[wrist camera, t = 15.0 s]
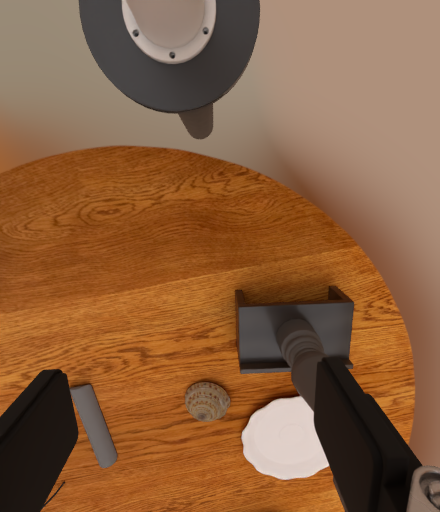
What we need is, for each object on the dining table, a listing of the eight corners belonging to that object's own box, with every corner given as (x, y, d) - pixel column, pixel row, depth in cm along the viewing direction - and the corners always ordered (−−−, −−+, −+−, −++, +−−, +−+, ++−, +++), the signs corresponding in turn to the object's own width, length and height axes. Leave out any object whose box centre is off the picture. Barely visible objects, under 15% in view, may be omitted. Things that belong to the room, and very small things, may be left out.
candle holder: (272, 351, 46) (337, 541, 22) (279, 316, 44) (358, 481, 20) (310, 355, 46) (414, 547, 22) (318, 321, 45) (440, 487, 21)
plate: (225, 455, 60) (226, 462, 59) (267, 377, 56) (269, 383, 54) (312, 482, 63) (314, 490, 61) (359, 410, 58) (363, 416, 56)
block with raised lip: (235, 290, 51) (239, 311, 42) (335, 285, 51) (359, 306, 43) (236, 344, 53) (240, 374, 45) (331, 340, 54) (352, 369, 45)
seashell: (233, 421, 55) (195, 438, 52) (221, 401, 60) (185, 415, 57) (232, 386, 53) (191, 401, 50) (219, 368, 58) (182, 381, 55)
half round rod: (99, 461, 60) (95, 469, 58) (68, 384, 55) (64, 391, 53) (118, 457, 60) (116, 466, 58) (90, 380, 55) (86, 387, 53)
